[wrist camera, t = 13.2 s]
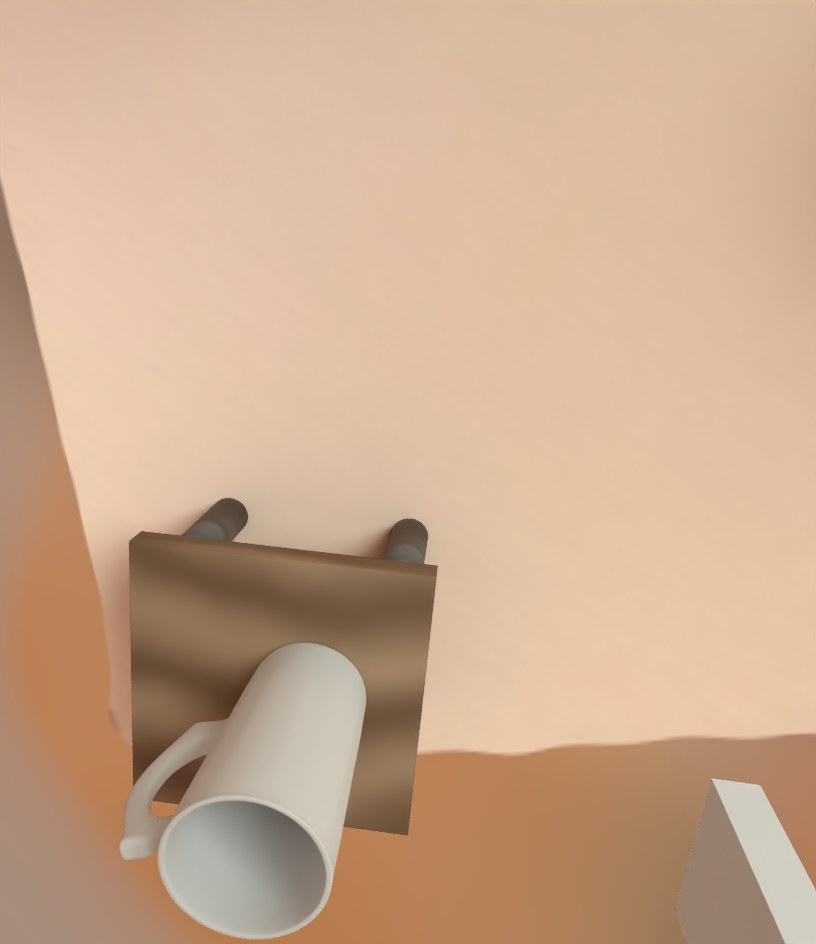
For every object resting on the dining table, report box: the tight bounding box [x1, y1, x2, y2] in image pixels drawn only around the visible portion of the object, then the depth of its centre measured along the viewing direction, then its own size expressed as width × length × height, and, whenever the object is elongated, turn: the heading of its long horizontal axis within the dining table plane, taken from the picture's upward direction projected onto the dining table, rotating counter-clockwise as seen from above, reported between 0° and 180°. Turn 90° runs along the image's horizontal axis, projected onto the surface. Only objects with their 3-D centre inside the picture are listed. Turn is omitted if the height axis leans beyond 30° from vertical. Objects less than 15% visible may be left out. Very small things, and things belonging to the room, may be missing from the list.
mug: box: [119, 643, 366, 939], centre depth 33 cm, size 10×7×12 cm, turn 96°
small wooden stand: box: [129, 498, 438, 835], centre depth 44 cm, size 16×16×10 cm
